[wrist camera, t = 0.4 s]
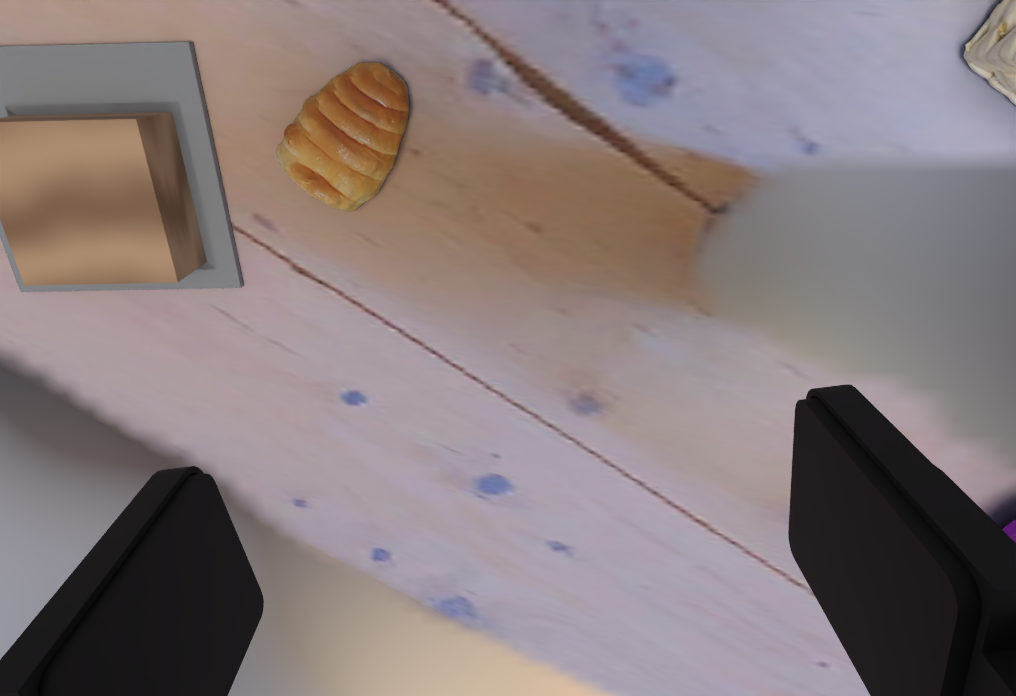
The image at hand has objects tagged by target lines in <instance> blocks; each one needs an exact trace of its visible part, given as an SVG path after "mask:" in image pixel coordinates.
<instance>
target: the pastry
mask: <svg viewBox="0 0 1016 696" xmlns="http://www.w3.org/2000/svg"><path fill="white" fill-rule="evenodd" d="M408 116H409V95H408V89H407V86H406V83H405V82H404V81H403V79H401V78H400V76H399V75H398V74H396V73H395V72H393V71H392V70H390V69H389V68H387V67H386V66H385V65H383V64H381V63H378V62H368V63H356V64H355V65H354V66H352V67H351V68H350V69H348V70H347V71H346V72H345V73H343V74H341V75H338V76H336V77H335V78H333V79H331V80H330V81H329V82H328V83H327V85H326V86H325V87H324V88H323V89H322V90H321V91H320V92H319V93H318V94H316V95H314V96H311V97H309V98H308V99H306V100H305V102H304V104H303V108H302V111H301V112H300V113H299V115H298V116H297V118H296V120H295V121H294V123H293V124H290V125H289V126H288V127H287V128H286V129H285V131H284V139H283V141H282V143H281V144H279V145H278V147H277V157H278V159H279V161H280V165H281V166H282V167H283V168H284V169H285V172H286V173H287V175H288V176H289V177H290V178H291V179H292V180H294V181H295V183H297V184H298V185H299V186H300V187H301V188H302V189H303V190H305V191H306V192H307V193H308V194H309V195H310V196H312V197H314V198H316V199H318V200H321V201H323V202H324V203H325V204H326V205H328V206H331V207H333V208H335V209H338V210H343V211H348V212H352V211H355V210H357V209H358V208H359V207H360V206H361V205H362V204H363V203H364V202H366V201H368V200H370V199H371V198H373V197H374V196H376V194H377V193H378V192H379V190H380V188H381V186H382V183H383V182H384V180H385V179H386V177H387V175H388V173H389V172H390V171H391V169H392V168H393V165H394V162H395V159H396V156H397V153H398V149H399V145H400V142H401V139H402V137H403V133H404V131H405V128H406V124H407V120H408Z"/></svg>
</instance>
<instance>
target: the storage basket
mask: <svg viewBox="0 0 1016 696" xmlns="http://www.w3.org/2000/svg"><path fill="white" fill-rule="evenodd" d="M965 47H966V50H965V52H964V59H965V60H966V61H967V63H968V65H969V66H970V68H971V69H972V70H973V71H974V72H976V73H977V74H979V75H980V76H981V77H984V78H986V79H987V80H988V82H989V84H990V85H991V86H992V87H993V88H995V89H996V90H998V91H999V92H1001V93H1002V94H1004V95H1006V96H1007V97H1008V98H1009V99H1010V101H1011V102H1012V103H1013V104H1015V105H1016V0H1003V1H1002V2H1001V3H1000V4H999V5H997V6H996V8H995V9H994V10H993V12H992V13H991V15H990V18H989V19H988V20H987V21H986V22H985V23H984V25H983V26H982V27H981V28H980V29H979V31H978V32H977V33H976V35H975V36H974V37H973V38H972V39H971V40H970V41H969V42H968V43H967V44H966V45H965Z"/></svg>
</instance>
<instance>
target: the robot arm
mask: <svg viewBox="0 0 1016 696" xmlns="http://www.w3.org/2000/svg"><path fill="white" fill-rule="evenodd" d="M789 544H790V548H791V551H792V554H793V557H794V559H795V561H796V563H797V564H798V566H799V568H800V570H801V572H802V573H803V575H804V577H805V579H806V580H807V582H808V584H809V586H810V588H811V589H812V591H813V593H814V595H815V597H816V598H817V600H818V602H819V604H820V606H821V607H822V609H823V611H824V613H825V615H826V616H827V618H828V620H829V622H830V624H831V625H832V627H833V629H834V631H835V633H836V634H837V636H838V638H839V640H840V642H841V643H842V645H843V647H844V649H845V650H846V652H847V654H848V656H849V658H850V659H851V661H852V663H853V665H854V667H855V668H856V670H857V672H858V674H859V676H860V677H861V679H862V681H863V683H864V685H865V686H866V688H867V690H868V692H869V694H870V695H871V696H1016V543H1015V542H1014V541H1013V540H1012V539H1011V538H1010V537H1009V536H1008V535H1007V534H1006V533H1005V532H1004V531H1003V530H1002V529H1001V528H1000V527H999V526H998V525H997V524H996V523H995V522H994V521H993V520H992V519H991V518H990V517H989V516H988V515H987V514H986V513H985V512H984V511H983V510H982V509H981V508H980V507H979V506H978V505H977V504H976V503H975V502H973V501H972V500H971V499H970V498H969V497H968V496H967V495H966V494H965V493H964V492H963V491H962V490H961V489H960V488H959V487H958V486H957V485H956V484H955V483H954V482H953V481H952V480H951V479H950V478H949V477H948V476H947V475H946V474H945V473H944V472H943V471H942V470H940V469H939V468H937V467H936V466H935V465H933V464H932V463H931V462H930V461H929V460H928V459H927V458H926V457H925V456H924V455H923V454H922V453H921V452H920V451H919V450H918V449H917V448H916V447H915V446H914V445H913V444H912V443H911V442H910V441H909V440H908V439H907V438H906V437H905V436H904V435H903V434H902V433H901V432H900V431H899V430H898V429H897V428H896V427H895V426H894V425H893V424H892V423H891V422H890V421H889V420H888V419H887V418H885V417H884V416H883V415H882V414H881V413H880V412H879V411H878V410H877V409H876V408H875V407H874V406H873V405H872V404H871V403H870V402H869V401H868V400H867V399H866V398H865V397H864V396H863V395H862V394H861V393H860V392H859V391H858V390H857V389H856V388H855V387H853V386H852V385H840V386H832V387H823V388H815V389H811V390H810V391H808V394H807V396H806V399H803V400H799V401H797V404H796V408H795V422H794V441H793V460H792V478H791V497H790V515H789ZM263 603H264V601H263V595H262V592H261V589H260V587H259V584H258V582H257V580H256V577H255V575H254V573H253V570H252V568H251V566H250V563H249V561H248V559H247V556H246V554H245V551H244V549H243V547H242V544H241V542H240V540H239V537H238V535H237V533H236V530H235V528H234V526H233V523H232V521H231V519H230V516H229V514H228V511H227V509H226V506H225V504H224V502H223V499H222V497H221V495H220V492H219V490H218V488H217V485H216V483H215V481H214V479H213V477H212V476H211V475H210V474H204V473H203V472H202V470H200V469H199V468H198V467H195V466H191V467H183V468H175V469H167V470H161V471H158V472H156V473H155V474H154V475H153V476H152V477H151V478H150V479H149V481H148V482H147V483H146V484H145V485H144V487H143V488H142V489H141V490H140V491H139V493H138V494H137V495H136V496H135V498H134V499H133V500H132V501H131V502H130V504H129V505H128V506H127V507H126V508H125V510H124V511H123V512H122V513H121V514H120V516H119V517H118V518H117V519H116V520H115V522H114V523H113V524H112V525H111V527H110V528H109V529H108V530H107V532H106V533H105V534H104V535H103V536H102V537H101V539H100V540H99V541H98V542H97V543H96V545H95V546H94V547H93V549H92V550H91V551H90V552H89V553H88V554H87V556H86V557H85V558H84V559H83V560H82V562H81V563H80V564H79V565H78V566H77V568H76V569H75V570H74V571H73V573H72V574H71V575H70V576H69V577H68V579H67V580H66V581H65V582H64V584H63V585H62V586H61V587H60V588H59V589H58V591H57V592H56V593H55V594H54V596H53V597H52V598H51V599H50V600H49V602H48V603H47V604H46V605H45V606H44V608H43V609H42V610H41V611H40V612H39V614H38V615H37V616H36V617H35V619H34V620H33V621H32V622H31V623H30V625H29V626H28V627H27V628H26V630H25V631H24V632H23V633H22V634H21V636H20V637H19V638H18V639H17V640H16V642H15V643H14V644H13V645H12V646H11V648H10V649H9V650H8V651H7V653H6V654H5V655H4V656H3V657H2V659H1V660H0V696H227V695H228V693H229V691H230V689H231V686H232V684H233V682H234V679H235V677H236V675H237V672H238V670H239V668H240V665H241V663H242V661H243V658H244V656H245V654H246V651H247V649H248V647H249V644H250V642H251V640H252V637H253V635H254V633H255V630H256V628H257V626H258V623H259V621H260V619H261V616H262V612H263Z"/></svg>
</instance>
